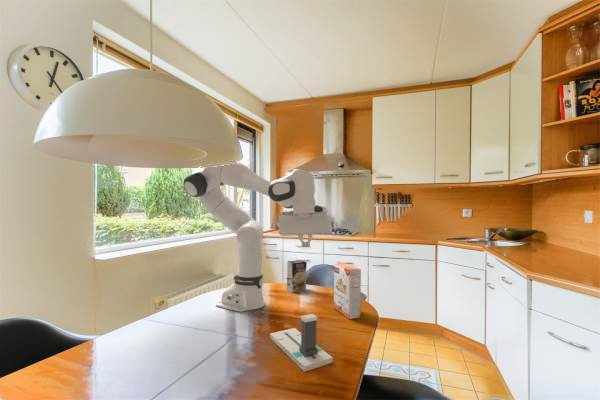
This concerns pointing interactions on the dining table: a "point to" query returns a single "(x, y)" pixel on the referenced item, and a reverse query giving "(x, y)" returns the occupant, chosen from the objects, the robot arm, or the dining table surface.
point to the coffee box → (296, 276)
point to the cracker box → (347, 290)
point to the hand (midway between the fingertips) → (305, 246)
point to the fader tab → (308, 335)
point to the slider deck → (290, 345)
